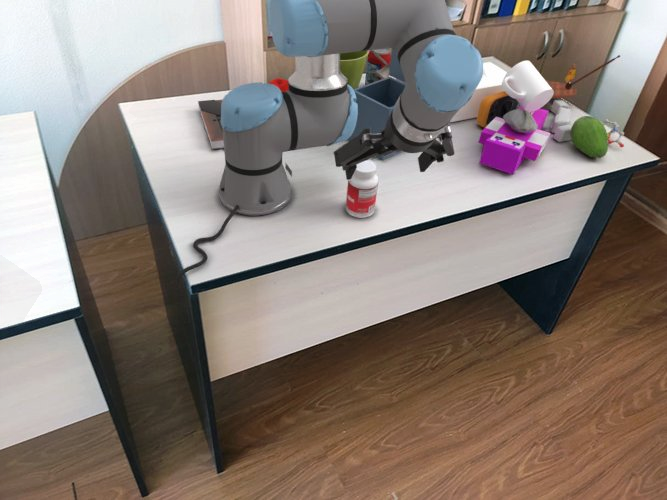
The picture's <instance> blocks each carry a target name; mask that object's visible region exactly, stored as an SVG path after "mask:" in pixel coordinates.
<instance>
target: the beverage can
mask: <svg viewBox="0 0 667 500" xmlns="http://www.w3.org/2000/svg"><path fill="white" fill-rule="evenodd" d="M374 51H375V52H376V53H377V54H378V55H379V56H380V57H381V58H382V59H384V60H385V61H386V62H387V64H388V65H390V61H391V51H390V48H389V49H378V50H374ZM384 66H385V64H384V63H383V62H382V61H381V60H379V59H378V58H377V57H376V56H375V55H374V54H373V53H372V52H371V50H369V51H368V54H367V58H366V66H365V67H366V68H365V76H364V77H365V79H364V85H367V84H370V83H373V82H376V81H378V80H381V78H380V77H379V76H378V75H377V74H376V73H375V71H378V70H380V69H382V68H383V67H384ZM388 77H390V75H388Z"/></svg>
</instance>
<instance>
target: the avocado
mask: <svg viewBox="0 0 667 500" xmlns="http://www.w3.org/2000/svg"><path fill="white" fill-rule="evenodd" d="M572 124H573V126H572V128H571V139H572V140H571V142H572V143H573V145H574V146H575V148H576V149H577V150H579V151H580V152H582V153H583V154H584V155H586V156H588V157H590V158H593V159H601V158H603V157H605V156H607V153H608V150H609V144H608V140H607V133H608V132H607V129H606V127H605V125H603V124H604V122H602V121H601V120H600V119H598V117H594V116H591V115H584V116H581V117H579V118H577V119H576V120H575V121H574V122H573V123H572Z"/></svg>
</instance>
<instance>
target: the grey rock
mask: <svg viewBox="0 0 667 500" xmlns="http://www.w3.org/2000/svg"><path fill="white" fill-rule="evenodd" d="M503 118H504V120H505V122H506V123H507V124H509V125H510V126H511V128H512V129H514V130H515V131H518V132H522V133H528V132H532V131H534V130H536V129H537V128H538V125H537V124H536V122H535V120H534V118H533V117H532V113H531V114H530V113H529V112H528V111H526V110H523V109H516V110H512V111H510V112H508V113H506V114H505V115H504V116H503Z"/></svg>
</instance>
